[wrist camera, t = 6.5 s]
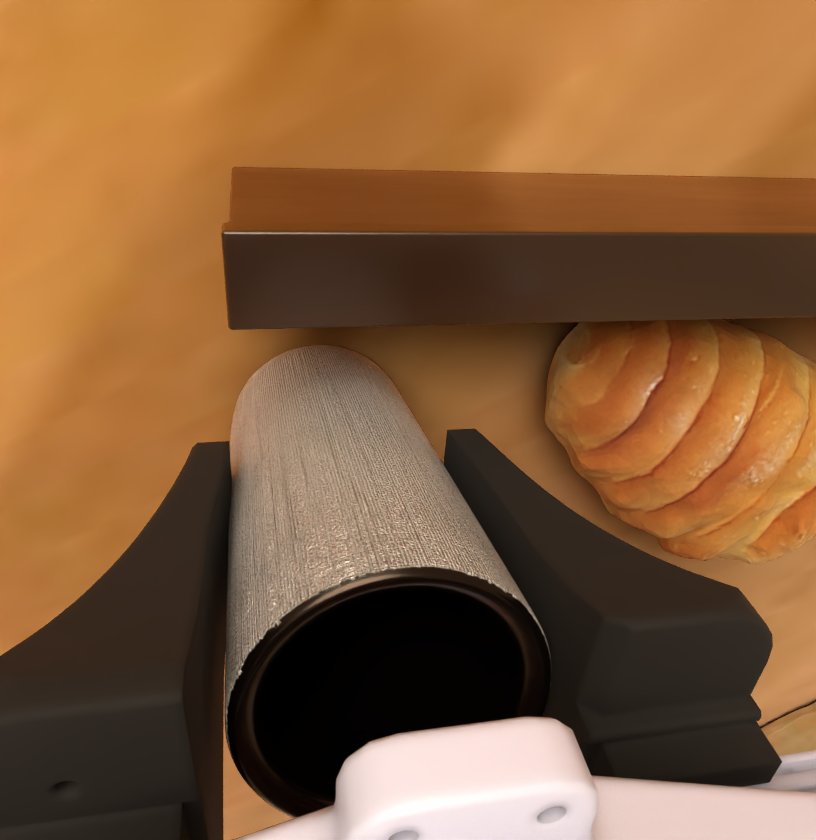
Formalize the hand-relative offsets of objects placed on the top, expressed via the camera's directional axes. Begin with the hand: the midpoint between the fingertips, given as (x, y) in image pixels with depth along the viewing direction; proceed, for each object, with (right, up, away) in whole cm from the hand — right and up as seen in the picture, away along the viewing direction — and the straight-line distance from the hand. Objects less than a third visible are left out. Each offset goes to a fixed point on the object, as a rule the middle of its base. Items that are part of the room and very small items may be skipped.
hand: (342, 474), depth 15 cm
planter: (-1, +1, +4) cm, 4 cm away
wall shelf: (+6, +6, +3) cm, 9 cm away
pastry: (+9, +1, +7) cm, 12 cm away
